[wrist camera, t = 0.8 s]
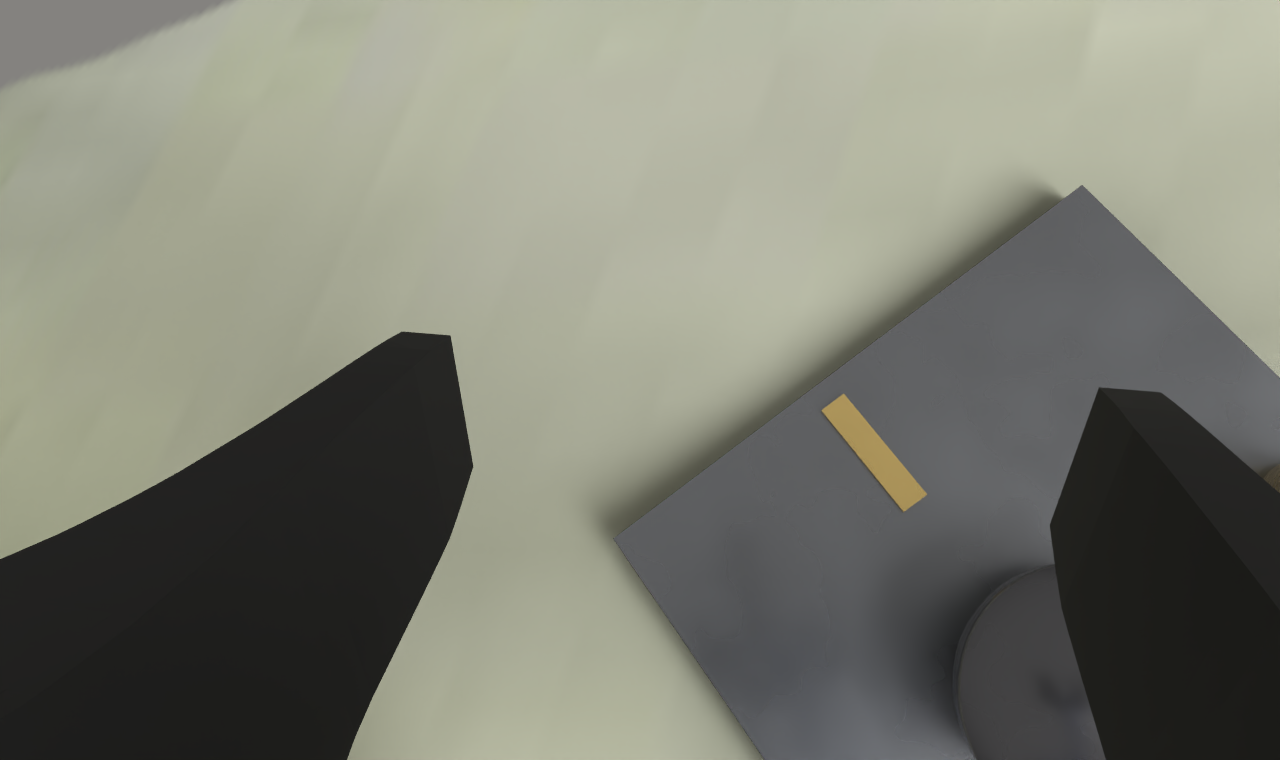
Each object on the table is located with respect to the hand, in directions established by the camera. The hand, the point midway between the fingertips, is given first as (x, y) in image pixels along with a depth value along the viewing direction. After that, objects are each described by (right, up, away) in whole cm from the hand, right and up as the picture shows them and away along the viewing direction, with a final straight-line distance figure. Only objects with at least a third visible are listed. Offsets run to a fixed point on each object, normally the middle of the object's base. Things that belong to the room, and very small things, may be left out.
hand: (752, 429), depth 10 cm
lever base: (+10, -6, +14) cm, 18 cm away
